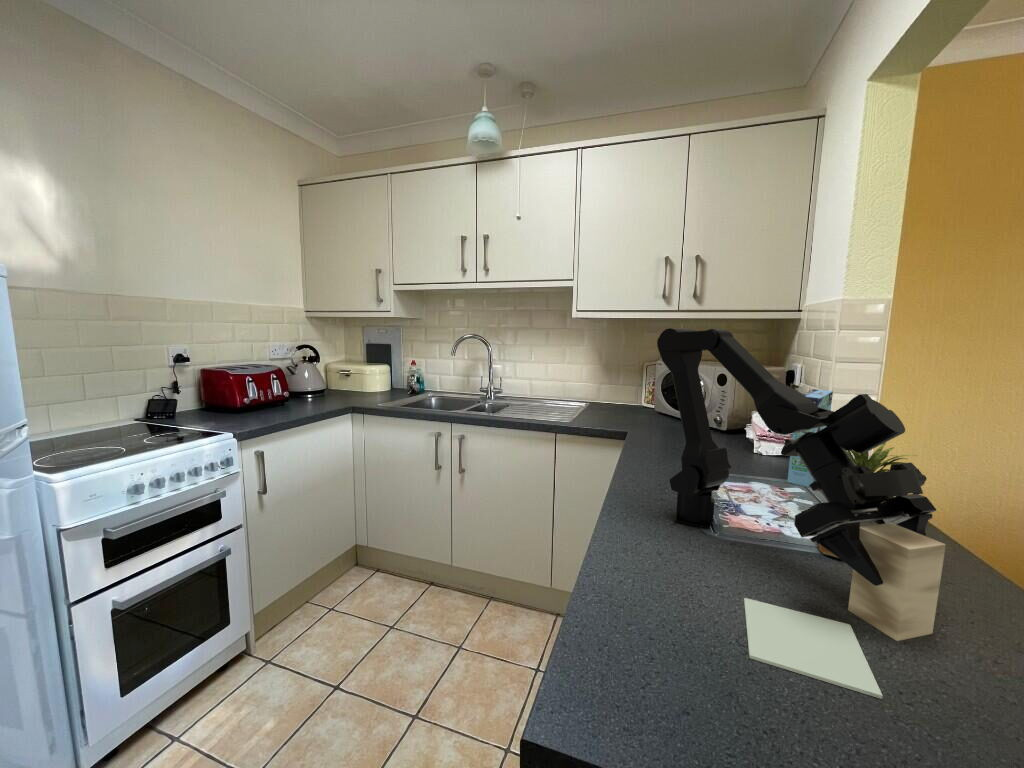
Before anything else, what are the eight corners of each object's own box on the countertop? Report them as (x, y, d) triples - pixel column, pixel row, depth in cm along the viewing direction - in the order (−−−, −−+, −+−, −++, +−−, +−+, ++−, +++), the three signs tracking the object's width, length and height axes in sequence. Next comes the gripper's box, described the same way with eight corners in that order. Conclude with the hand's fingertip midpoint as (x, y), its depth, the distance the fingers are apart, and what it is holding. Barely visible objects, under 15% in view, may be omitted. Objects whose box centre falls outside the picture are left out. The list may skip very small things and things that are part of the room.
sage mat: (749, 658, 49) (749, 654, 49) (743, 600, 59) (744, 597, 59) (882, 699, 43) (882, 695, 43) (849, 627, 54) (850, 624, 54)
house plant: (891, 536, 79) (902, 452, 77) (808, 510, 91) (816, 436, 89) (916, 520, 87) (927, 443, 85) (837, 497, 99) (845, 429, 97)
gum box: (803, 467, 122) (811, 388, 119) (825, 471, 118) (834, 390, 115) (786, 482, 108) (794, 395, 105) (810, 488, 104) (819, 397, 102)
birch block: (847, 610, 58) (858, 527, 56) (881, 604, 59) (891, 522, 58) (896, 641, 52) (909, 549, 50) (932, 633, 53) (945, 544, 52)
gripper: (822, 444, 54) (910, 571, 45) (928, 438, 59) (1028, 553, 49) (767, 482, 63) (830, 595, 53) (863, 474, 67) (937, 578, 58)
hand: (907, 580), depth 53 cm, fingers open, 9 cm apart
